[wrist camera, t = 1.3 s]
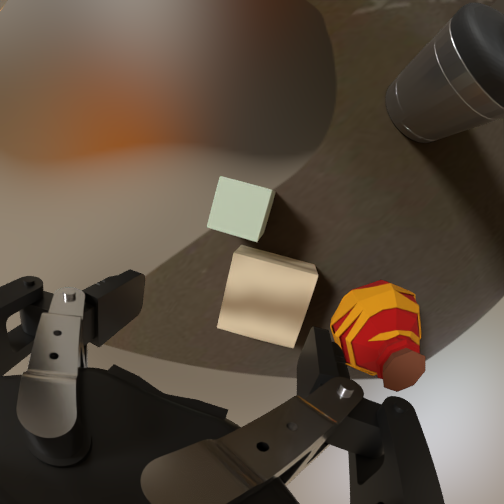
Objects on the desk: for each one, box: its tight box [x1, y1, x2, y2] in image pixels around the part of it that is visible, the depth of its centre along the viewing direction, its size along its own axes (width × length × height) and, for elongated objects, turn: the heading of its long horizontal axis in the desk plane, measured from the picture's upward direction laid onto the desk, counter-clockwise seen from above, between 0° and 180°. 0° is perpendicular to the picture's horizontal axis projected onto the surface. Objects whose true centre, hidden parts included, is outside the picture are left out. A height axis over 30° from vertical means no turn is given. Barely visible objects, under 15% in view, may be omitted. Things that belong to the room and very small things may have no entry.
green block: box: [207, 176, 276, 242], centre depth 28 cm, size 5×5×7 cm
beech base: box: [217, 245, 318, 348], centre depth 31 cm, size 9×9×5 cm
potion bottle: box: [330, 280, 425, 392], centre depth 25 cm, size 10×10×15 cm
